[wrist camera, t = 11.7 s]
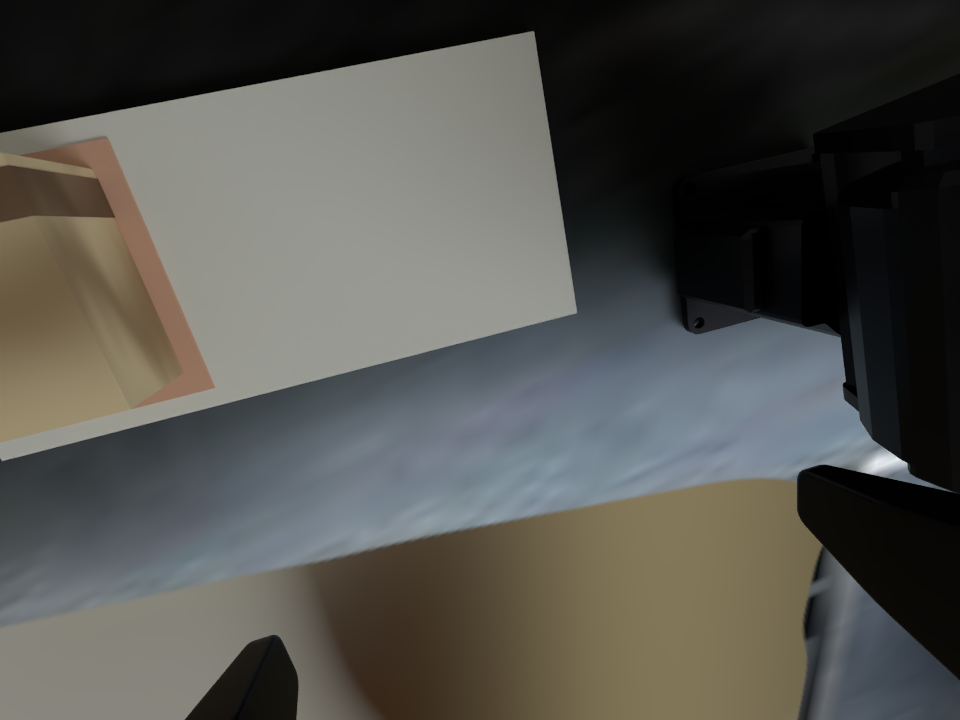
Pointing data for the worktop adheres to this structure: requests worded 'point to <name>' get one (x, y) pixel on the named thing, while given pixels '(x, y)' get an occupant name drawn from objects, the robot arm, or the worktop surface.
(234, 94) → the grey mat
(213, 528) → the worktop surface
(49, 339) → the two-tone wooden box
